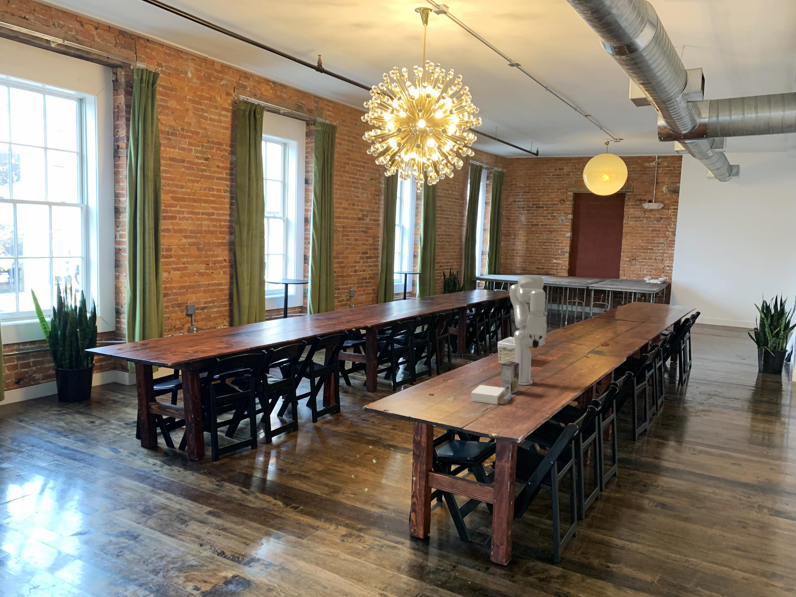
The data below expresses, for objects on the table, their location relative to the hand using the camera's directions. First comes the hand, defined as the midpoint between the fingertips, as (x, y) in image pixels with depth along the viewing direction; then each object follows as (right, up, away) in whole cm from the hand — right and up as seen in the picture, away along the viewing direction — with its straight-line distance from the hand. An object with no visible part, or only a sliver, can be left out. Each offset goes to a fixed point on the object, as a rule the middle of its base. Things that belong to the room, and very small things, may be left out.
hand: (535, 347), depth 310 cm
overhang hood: (-25, -27, -1) cm, 37 cm away
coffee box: (-11, -26, +13) cm, 31 cm away
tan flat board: (-23, -27, -2) cm, 36 cm away
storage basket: (+6, -17, +90) cm, 92 cm away
